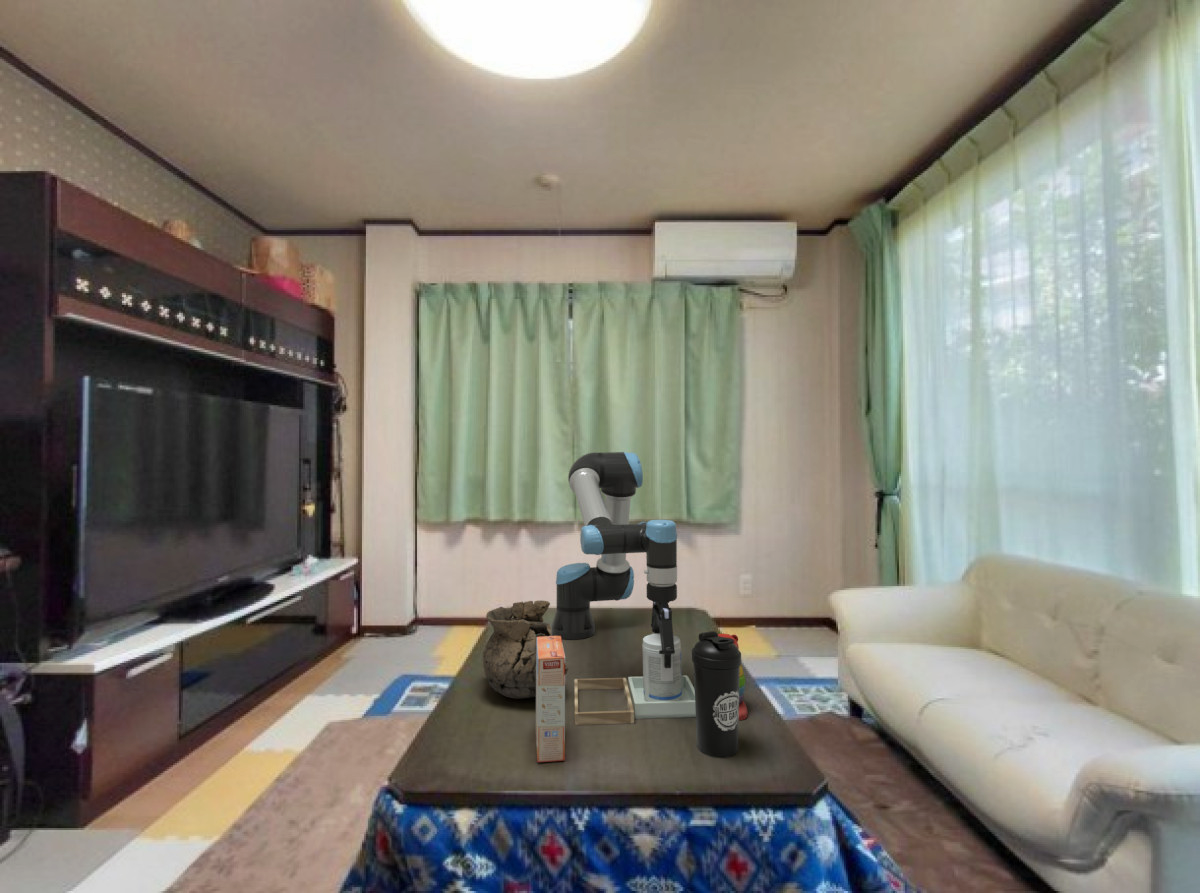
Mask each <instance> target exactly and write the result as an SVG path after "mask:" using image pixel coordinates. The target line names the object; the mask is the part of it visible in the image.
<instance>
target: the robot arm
mask: <svg viewBox="0 0 1200 893" xmlns="http://www.w3.org/2000/svg"><path fill="white" fill-rule="evenodd" d="M643 474H644V473H643V468H642V464H641V460H640V458H639V456H638V455H637V453H635V452H625V451H617V452H616V451H612V452H606V451H605V452H597V451H595V452H589V453H585V454H583V455H582V456H580V457H579V458H578V459H576V460H575V462H573V464H572V465H571V467H570V469H569V471H568V476H567V478H568V483H569V488H570V490H571V491H572V493H573V494H574V493H575V499H576V501H577V504H578V508H579V510H580V511H579V512H580V514H581V515H580V516H581V518H582V521H583V524H584V526H582V527H581V529H580V535H579V536H580V538H579V539H580V548H581V552H583V554H584V555H595V556H601V557H600V558H599V559H597V560H596V565H595V566H596V567H595V566H593V567H591V565H590V564H589V563H587V562H576V563H569V564H566V565H563V566H561V567H560V568H558V569H557V572H556V580H555V585H556V610H555V611H556V612H555V615H554V618H553V622H552V625H551V635H552V636H561V639H562V640H581V639H586V638H589V637H592V636H594V634H596V624H595V622H594V618H593V616H592V612H591V603H592V602H606V601H607V602H608V601H620V600H627V599H628V598H630V597H631V595H632V593H633V590H634V584H635V579H634V578H635V574H634V569H633V567H632V566H631V565H630V562H629V561H628V560H627V554H636V553H637V554H641V553H646V554H645V555H646V556H645V558H646V569H644V570H643V573H644V574H645V575H646V582H647V583H646V598H647V600H649V601H651V602H652V611H651V622H650V627H651V628H652V629H651V631H652V633H651V634H660V638H661V647H662V650H659V654H661V681H673V654H674V653H675V650H674V639H673V635H674V630H673V617H672V616H673V610H672V608H671V607H670V606H669V603H670V602H674V601H676V600H677V597H678V585H677V582H678V565H677V564H678V562H677V557H678V555H677V554H678V553H677V552H678V551H677V550H678V549H677V548H678V546H677V544H678V542H677V541H678V540H677V539H678V533H677V524H676V523H675V521H673V520H669V519H651V520H648V521H647V522H646V521H641V522H639V523H633V524H632V523H630V524H629V522H630V512H631V511H630V510H631V499H632V498H633V497H634V496H635V495H636V492H637V489H639V488H641V487H643V481H644V480H643V478H644V476H643ZM603 495H604V496H605V497H603ZM667 647H670V648H667Z"/></svg>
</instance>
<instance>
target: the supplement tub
mask: <svg viewBox="0 0 1200 893" xmlns="http://www.w3.org/2000/svg"><path fill="white" fill-rule="evenodd" d="M673 639H674V650H675V653H674V654H673V681H661V654H659V650H662V647H661V638H660V634H652V633H651V634H648V635H646V636H644V637H643V638H642V676H643V692H644V698H645V699H646V700H647V701H648V702H657V701H680V700H681V698H682V675H683V674H682V647H681V646H682V645H681V639H680V638H679V636H676V635H674V634H673ZM667 648H670V647H667Z"/></svg>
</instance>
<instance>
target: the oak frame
mask: <svg viewBox="0 0 1200 893" xmlns="http://www.w3.org/2000/svg"><path fill="white" fill-rule="evenodd" d="M573 681H574V683H573V684H574V688H573V689H574V690H573V691H574V725H575V726H585V725H586V726H587V725H615V724H617V725H618V724H621V725H623V724H635V717H634V709H633V705H632V701H631V697H630V693H629V689H628V679H627V678H626V677H607V678H605V677H603V678H599V677H598V678H574V680H573ZM616 689H617V690H620V689H621V690H623V694H624V699H625V703H626V708H627V710H606V711H604V710H603V711H602V710H601V711H579V695H578V694H579V691H582V690H583V691H585V690H586V691H587V690H588V691H589V690H616Z"/></svg>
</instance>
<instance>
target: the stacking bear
mask: <svg viewBox="0 0 1200 893" xmlns="http://www.w3.org/2000/svg"><path fill="white" fill-rule="evenodd" d="M717 634H718V636H720V637H726V638H731V639H733V640H734V644H735V645H736V646H737V648H738V650H739V651H740V649H739V637H738V636H737V635H736V634H729V633H724V632H723V633H717ZM745 689H746V677H745V673H744V669H743V665H742V664H741V665H740V669H739V721H742V720H745V719H747V716H748V708H747V705H746V703H745V701H744V696H745V692H746V691H745Z"/></svg>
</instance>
